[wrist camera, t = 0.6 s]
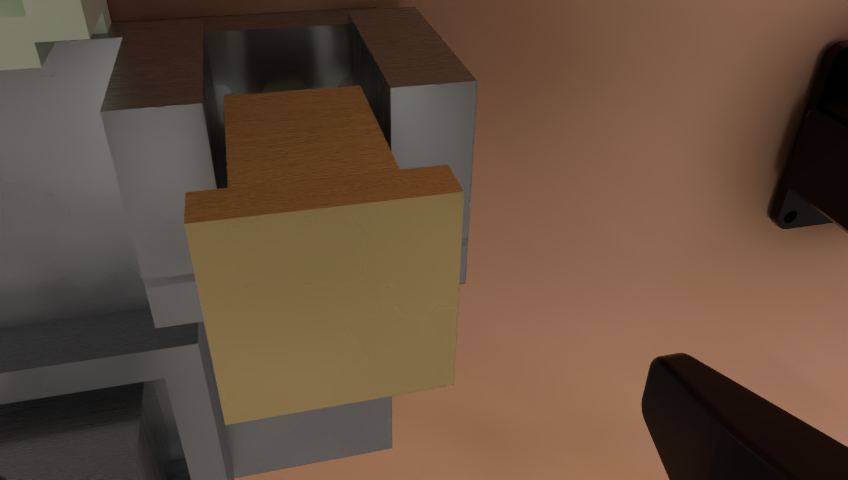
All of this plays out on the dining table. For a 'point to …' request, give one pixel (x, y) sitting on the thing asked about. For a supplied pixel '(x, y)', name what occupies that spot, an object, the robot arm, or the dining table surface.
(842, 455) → the robot arm
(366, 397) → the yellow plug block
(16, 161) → the socket block
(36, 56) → the grey square frame
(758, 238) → the dining table surface
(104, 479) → the grey block
